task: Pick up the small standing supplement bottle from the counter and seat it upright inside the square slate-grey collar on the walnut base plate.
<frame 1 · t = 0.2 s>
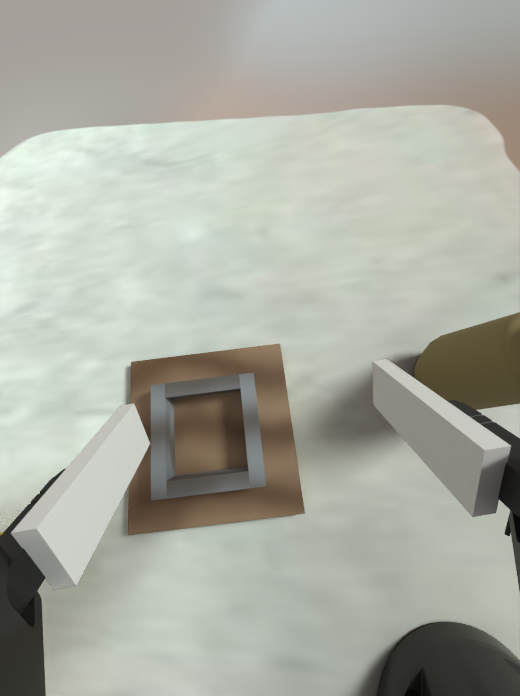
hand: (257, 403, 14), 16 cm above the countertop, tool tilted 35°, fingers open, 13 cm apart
socket holder: (212, 430, 28), on the countertop
squeeze bottle: (436, 376, 29), on the countertop
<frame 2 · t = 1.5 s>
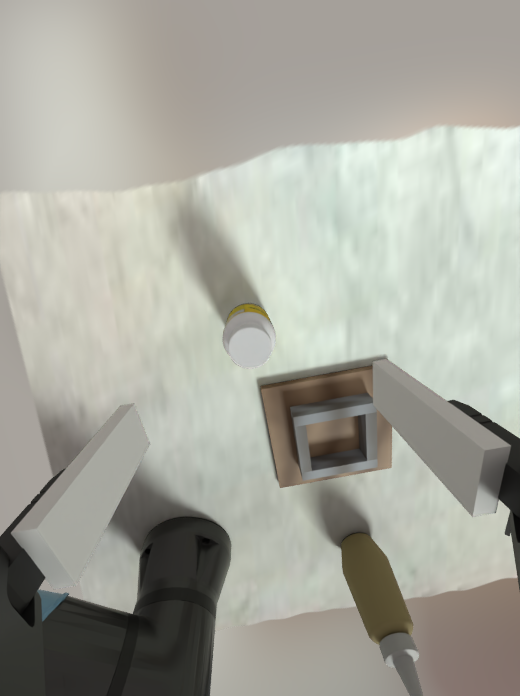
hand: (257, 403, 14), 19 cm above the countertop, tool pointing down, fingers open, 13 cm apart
supplement bottle: (248, 323, 31), on the countertop
socket holder: (329, 427, 37), on the countertop
squeeze bottle: (355, 541, 46), on the countertop
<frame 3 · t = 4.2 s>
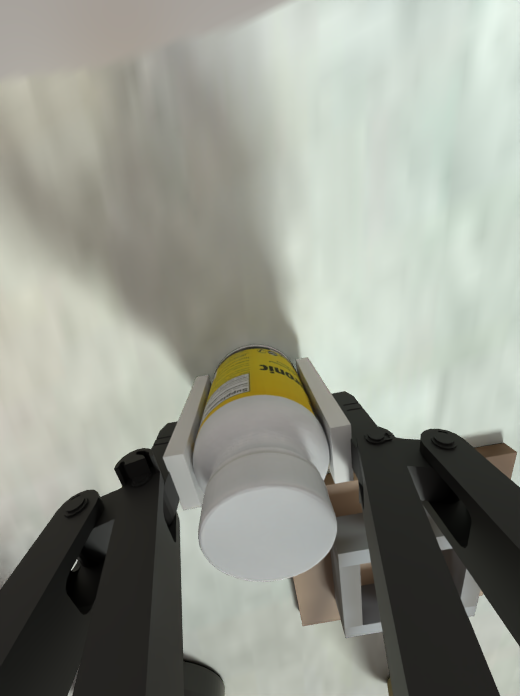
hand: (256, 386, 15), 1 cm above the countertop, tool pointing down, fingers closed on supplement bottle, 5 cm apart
supplement bottle: (255, 379, 16), on the countertop, touching gripper
socket holder: (388, 539, 22), on the countertop
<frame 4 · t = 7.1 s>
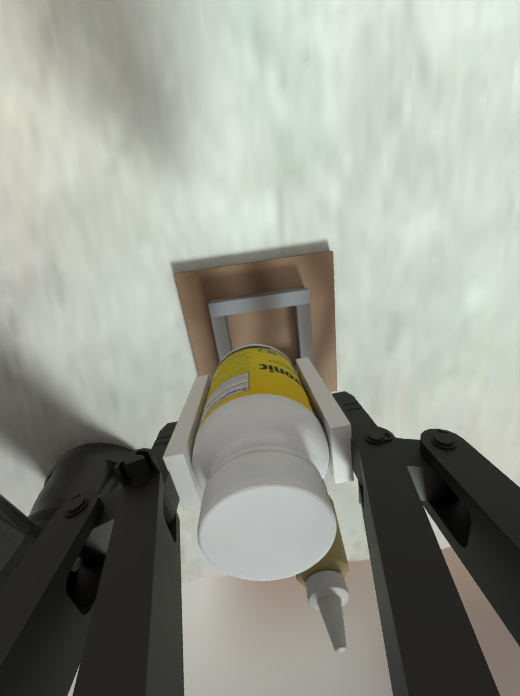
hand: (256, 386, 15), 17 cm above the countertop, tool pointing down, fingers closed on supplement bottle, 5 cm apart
supplement bottle: (255, 378, 16), point 16 cm above the countertop, touching gripper
socket holder: (263, 335, 32), on the countertop
squeeze bottle: (301, 486, 41), on the countertop
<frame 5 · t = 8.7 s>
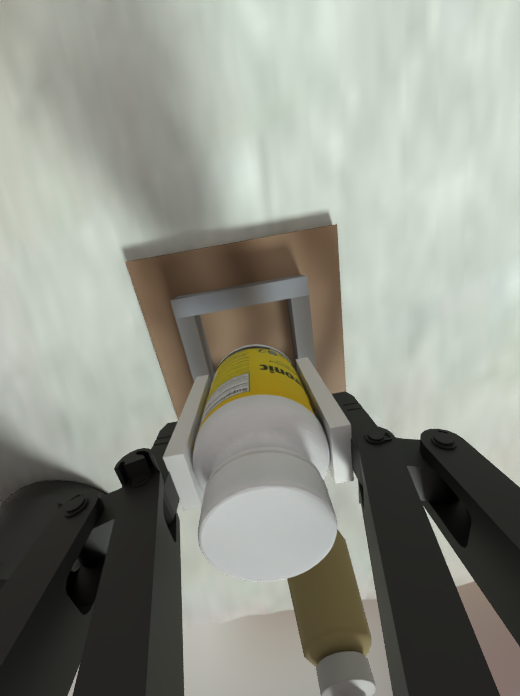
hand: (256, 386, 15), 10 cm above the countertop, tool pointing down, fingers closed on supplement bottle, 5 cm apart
supplement bottle: (255, 379, 16), point 9 cm above the countertop, touching gripper
socket holder: (250, 340, 25), on the countertop
squeeze bottle: (306, 519, 34), on the countertop
when the fingers open (4 cm above the countertop, at t = 10.1 s): supplement bottle drops 2 cm, resting on socket holder.
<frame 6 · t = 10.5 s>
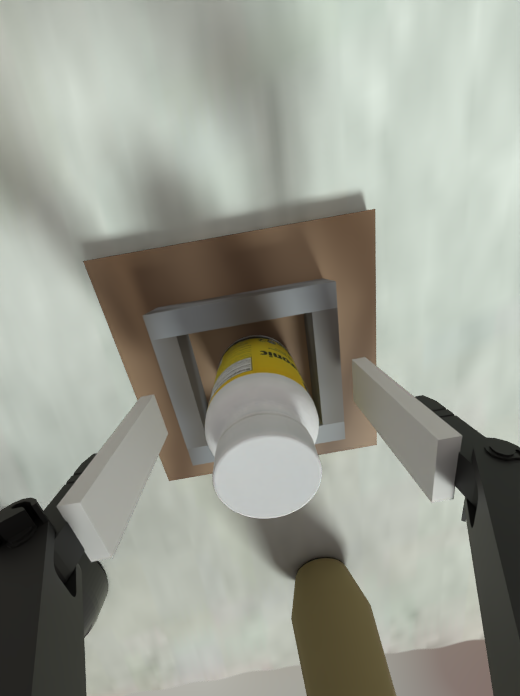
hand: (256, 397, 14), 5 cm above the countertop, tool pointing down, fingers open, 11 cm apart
supplement bottle: (256, 366, 18), point 1 cm above the countertop, touching socket holder
socket holder: (254, 362, 19), on the countertop
squeeze bottle: (320, 570, 28), on the countertop
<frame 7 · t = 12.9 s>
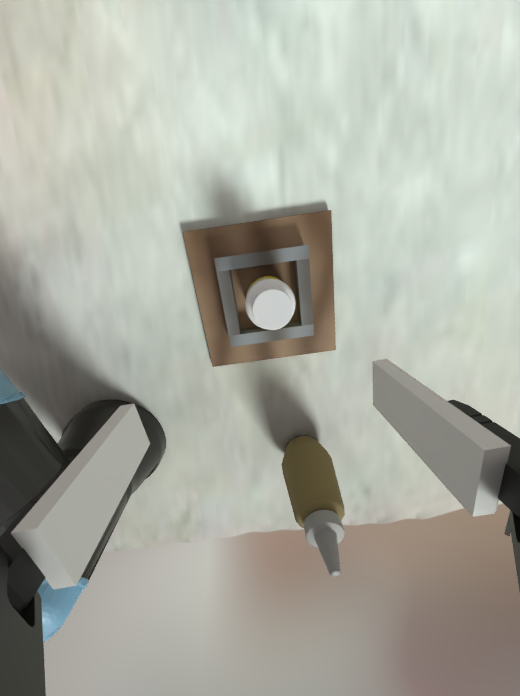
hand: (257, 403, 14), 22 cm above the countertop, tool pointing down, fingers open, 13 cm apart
supplement bottle: (266, 295, 33), point 1 cm above the countertop, touching socket holder
socket holder: (265, 295, 34), on the countertop
squeeze bottle: (302, 447, 43), on the countertop
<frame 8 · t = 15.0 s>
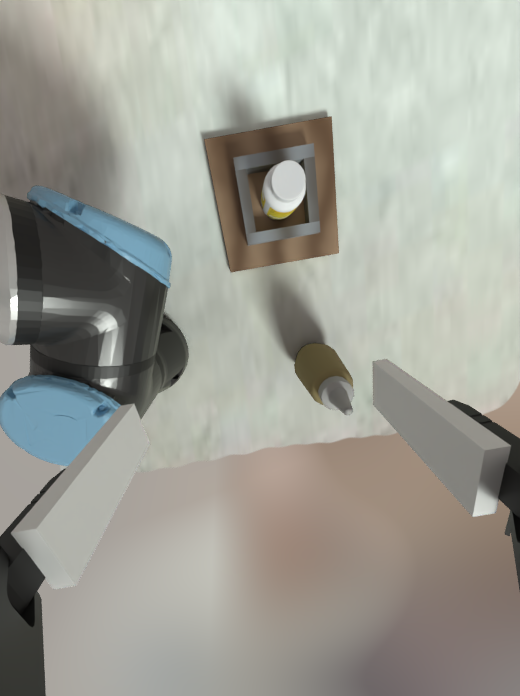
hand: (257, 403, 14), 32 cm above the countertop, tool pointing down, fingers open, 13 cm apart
supplement bottle: (277, 200, 38), point 1 cm above the countertop, touching socket holder
socket holder: (276, 202, 38), on the countertop
squeeze bottle: (311, 357, 48), on the countertop
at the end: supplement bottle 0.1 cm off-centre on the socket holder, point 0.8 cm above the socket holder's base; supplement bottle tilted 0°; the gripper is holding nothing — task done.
